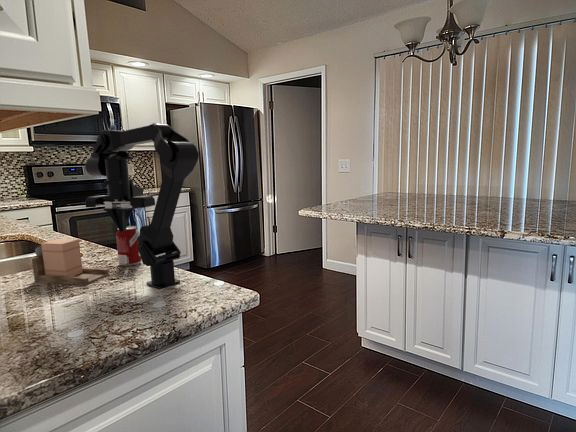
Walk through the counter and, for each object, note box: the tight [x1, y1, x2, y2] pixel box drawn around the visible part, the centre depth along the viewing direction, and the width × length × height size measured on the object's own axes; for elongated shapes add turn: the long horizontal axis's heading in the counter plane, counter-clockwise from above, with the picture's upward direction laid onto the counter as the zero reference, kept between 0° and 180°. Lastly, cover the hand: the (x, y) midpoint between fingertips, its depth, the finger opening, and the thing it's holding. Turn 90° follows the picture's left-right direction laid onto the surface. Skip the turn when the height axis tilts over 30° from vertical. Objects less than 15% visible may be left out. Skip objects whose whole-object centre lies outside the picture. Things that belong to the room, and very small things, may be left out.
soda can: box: [115, 225, 142, 267], centre depth 120 cm, size 7×7×12 cm
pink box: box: [40, 238, 83, 277], centre depth 108 cm, size 7×6×10 cm
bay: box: [31, 245, 110, 286], centre depth 107 cm, size 18×9×10 cm, turn 77°
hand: (123, 231), depth 107 cm, fingers closed
